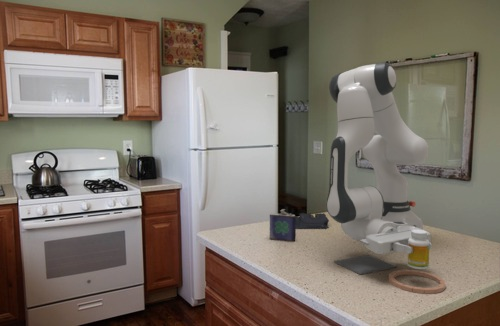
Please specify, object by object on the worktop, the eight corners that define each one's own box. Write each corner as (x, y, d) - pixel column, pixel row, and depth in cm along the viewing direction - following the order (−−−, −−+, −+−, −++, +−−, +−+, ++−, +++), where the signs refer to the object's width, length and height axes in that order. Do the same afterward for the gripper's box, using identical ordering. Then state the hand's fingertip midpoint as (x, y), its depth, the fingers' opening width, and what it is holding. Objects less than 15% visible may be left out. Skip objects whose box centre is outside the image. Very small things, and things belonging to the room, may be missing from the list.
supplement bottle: (430, 270, 107) (432, 234, 106) (409, 268, 108) (410, 233, 107) (425, 263, 112) (427, 229, 111) (405, 262, 113) (406, 228, 112)
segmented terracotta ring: (414, 270, 120) (414, 266, 120) (457, 287, 107) (457, 283, 107) (377, 277, 114) (377, 274, 114) (418, 297, 101) (419, 293, 101)
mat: (368, 255, 133) (368, 254, 133) (396, 267, 122) (396, 266, 122) (334, 262, 127) (334, 260, 127) (360, 274, 116) (360, 273, 116)
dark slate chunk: (274, 221, 181) (274, 210, 180) (323, 221, 181) (323, 210, 181) (278, 230, 165) (278, 219, 165) (331, 230, 166) (332, 218, 166)
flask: (268, 239, 151) (269, 209, 150) (270, 237, 154) (271, 207, 153) (294, 242, 148) (295, 211, 147) (296, 240, 151) (297, 209, 150)
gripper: (356, 229, 116) (393, 242, 104) (407, 221, 125) (447, 232, 113) (356, 250, 117) (392, 266, 105) (407, 241, 126) (445, 254, 114)
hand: (421, 248), depth 109 cm, fingers closed on supplement bottle, 5 cm apart
